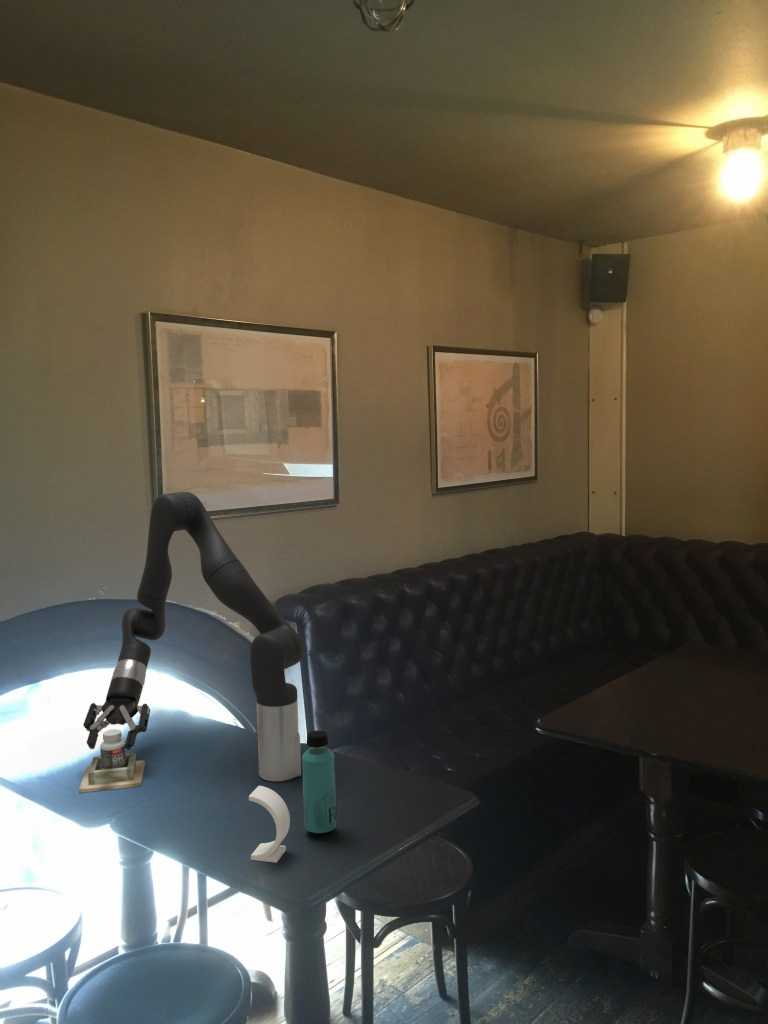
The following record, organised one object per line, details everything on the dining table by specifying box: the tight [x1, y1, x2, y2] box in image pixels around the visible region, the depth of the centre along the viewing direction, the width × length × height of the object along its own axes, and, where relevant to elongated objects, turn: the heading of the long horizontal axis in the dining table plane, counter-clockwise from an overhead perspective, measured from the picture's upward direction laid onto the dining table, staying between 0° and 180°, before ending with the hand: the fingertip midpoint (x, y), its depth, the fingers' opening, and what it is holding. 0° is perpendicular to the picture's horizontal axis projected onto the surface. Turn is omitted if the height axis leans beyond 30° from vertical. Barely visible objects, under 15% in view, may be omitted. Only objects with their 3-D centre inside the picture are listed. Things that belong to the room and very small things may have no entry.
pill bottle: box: [99, 728, 127, 770], centre depth 184 cm, size 5×5×10 cm
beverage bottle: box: [301, 730, 338, 834], centre depth 156 cm, size 6×7×20 cm
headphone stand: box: [248, 785, 291, 864], centre depth 148 cm, size 5×6×12 cm
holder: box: [78, 752, 146, 794], centre depth 184 cm, size 13×13×4 cm
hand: (109, 748), depth 182 cm, fingers open, 8 cm apart
